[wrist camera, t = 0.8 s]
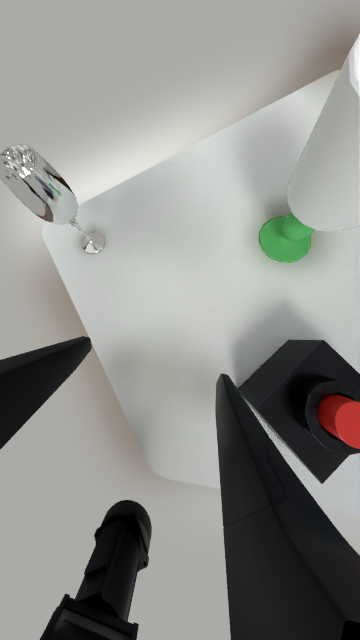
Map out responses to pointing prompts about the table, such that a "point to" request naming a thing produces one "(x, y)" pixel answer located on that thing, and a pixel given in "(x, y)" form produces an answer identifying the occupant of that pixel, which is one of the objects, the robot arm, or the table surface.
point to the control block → (303, 401)
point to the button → (341, 418)
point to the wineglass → (43, 190)
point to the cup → (323, 173)
